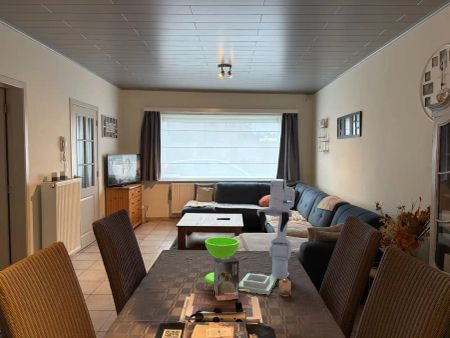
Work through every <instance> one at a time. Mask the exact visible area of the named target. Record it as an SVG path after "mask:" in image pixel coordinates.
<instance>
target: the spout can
mask: <svg viewBox="0 0 450 338" xmlns="http://www.w3.org/2000/svg"><path fill="white" fill-rule="evenodd" d="M278 280H279V281H278V295H279V294H281V295H290V294H291V295H292V292H291V289H292V281H291V280H289V279H288V278H283V279H278ZM281 295H280V296H281ZM291 295H290V296H291Z"/></svg>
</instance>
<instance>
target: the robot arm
mask: <svg viewBox="0 0 450 338" xmlns="http://www.w3.org/2000/svg"><path fill="white" fill-rule="evenodd" d="M269 193H270V195H269V202H268V207H266V208H260V209H257V211H256V214H257V216H258V217H259V219H260V222H261V224H260V225H261V228H260V229H261V231H262V232H264V231H265V227H266V226H265V225H266V223H267V222H266V221H267V216H270V217H275V218H276V217H277V218H278V223H277V225H278V226H277V233H276V237H274V238H273V239H272V240H270V245H269V251H268V252H269V256H270V258H271V259H272V264H271V265H272V267H271V268H272V269H271V270H272V271H271V274H270V276H273V277H277V280H282V279H283V278H287V277H288V278H289V276H290V272H288V267H289V265H288V264H289V262H288V260H289V259H290V258H291V255H292V243H291V241H290V240H288V239H287V231H288V222H289V221H290V218H292V217H293V210H290V209H292V208H294V205H295V198H296V190H295V189H294V188H293V187H290V186H287V180H286V179H281V178H273V180H270V190H269ZM288 278H287V279H288Z"/></svg>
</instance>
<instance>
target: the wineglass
mask: <svg viewBox="0 0 450 338" xmlns="http://www.w3.org/2000/svg"><path fill="white" fill-rule="evenodd" d="M204 241H205V242H204V243H205V247H206V249H207V252H208V253H209V254H210V255H211V256H213V257H214V258H225V257H233V255H235V253H236V252H237V251H238V248H239V246H240V240H239V239H237V238H233V237H227V236H226V237H225V236H224V237H223V236H220V237H219V236H218V237H217V236H216V237H215V236H214V237H210V238H207V239H205V240H204ZM204 281H205V282H206V283H208V284H211V285H214V271H212V272H210V273H207V274H206V275H205V276H204Z"/></svg>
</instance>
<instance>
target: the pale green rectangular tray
mask: <svg viewBox="0 0 450 338" xmlns="http://www.w3.org/2000/svg"><path fill="white" fill-rule="evenodd" d="M277 280H278V279H277V277H273V276H271V275H266V274H264V273H258V274H257V273H249V272H248V273H246V275H245V276H244V277H243V278H242V280H241V281H239V289H249V290H250V291H251V293H250V294H256V293H258V295H262V294H267V295H266V296H270V294H271V293H272V291H273V289H272V288H274V287H275V286H276V284H277V282H278V281H277ZM276 281H277V282H276ZM275 283H276V284H275ZM271 290H272V291H271Z"/></svg>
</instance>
